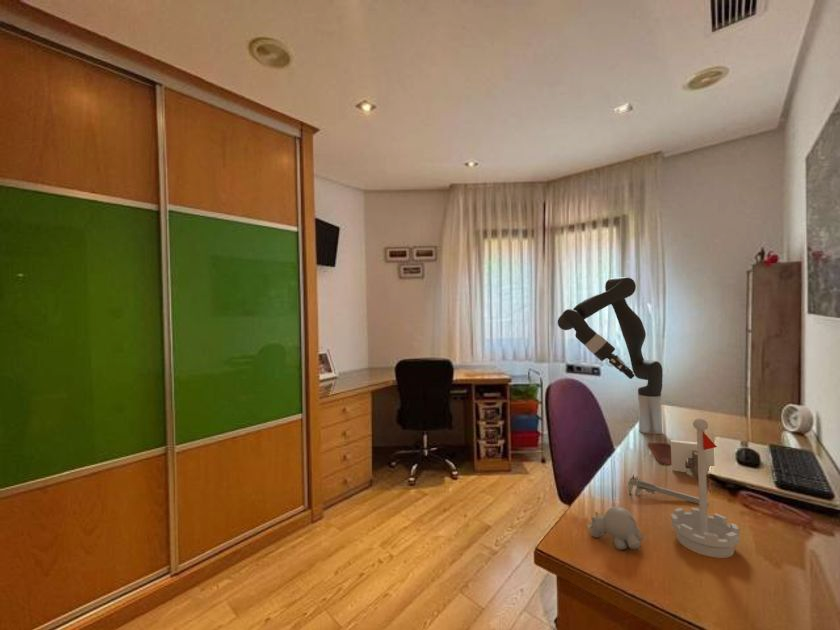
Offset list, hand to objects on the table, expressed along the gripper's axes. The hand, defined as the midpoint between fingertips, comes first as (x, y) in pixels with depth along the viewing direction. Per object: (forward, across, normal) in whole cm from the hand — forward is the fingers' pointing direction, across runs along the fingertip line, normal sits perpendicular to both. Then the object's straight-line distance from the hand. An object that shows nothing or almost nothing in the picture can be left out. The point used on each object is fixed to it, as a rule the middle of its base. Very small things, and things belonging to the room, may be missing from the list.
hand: (632, 375), depth 152 cm
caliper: (+26, -40, +18) cm, 51 cm away
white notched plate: (+33, -14, +10) cm, 37 cm away
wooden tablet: (+30, +2, +14) cm, 33 cm away
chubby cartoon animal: (+15, -70, +28) cm, 77 cm away
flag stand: (+29, -62, +14) cm, 70 cm away
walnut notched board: (+34, -14, +9) cm, 38 cm away
